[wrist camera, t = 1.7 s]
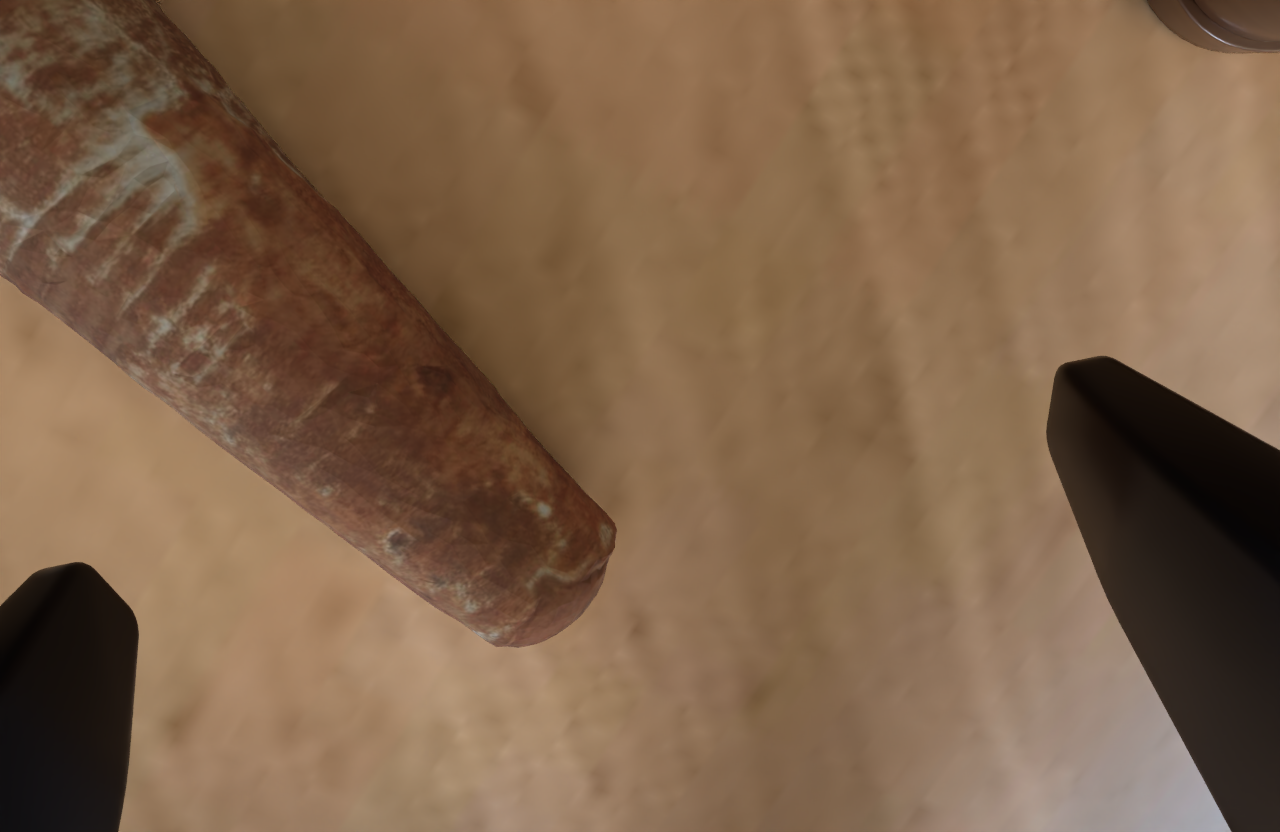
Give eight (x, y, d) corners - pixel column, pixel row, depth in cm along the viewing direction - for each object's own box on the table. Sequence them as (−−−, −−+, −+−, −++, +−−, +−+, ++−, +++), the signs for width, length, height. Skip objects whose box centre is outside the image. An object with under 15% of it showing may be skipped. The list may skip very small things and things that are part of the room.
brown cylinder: (53, -171, 19) (-159, -262, 14) (657, 512, 24) (671, 634, 19) (-149, 45, 20) (-414, 37, 15) (469, 650, 26) (434, 801, 20)
